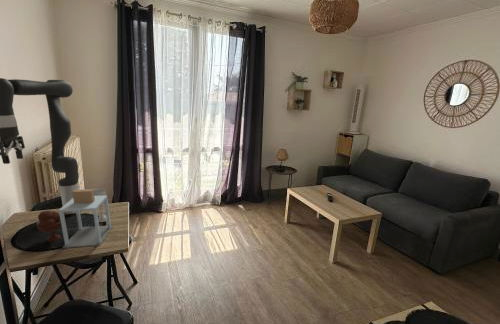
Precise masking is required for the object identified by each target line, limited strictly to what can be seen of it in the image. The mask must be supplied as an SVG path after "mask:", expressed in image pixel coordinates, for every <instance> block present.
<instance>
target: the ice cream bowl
mask: <svg viewBox="0 0 500 324" xmlns="http://www.w3.org/2000/svg"><path fill="white" fill-rule="evenodd" d="M37 219H38V221H37V222H35V225H36V228H37V229H38V230H39V231H40V232H42V233H43V232H44V233H48V234H49V233H50V236H48V237H47V238H46V242H49V243H53V242H56V241H58V240H60V239H61V238H62V237H61V235H59V234H56V232H57V231H59V230H60V228H61V229H62V225H61V220H60V214H59V211H51V210H43V211H41V212H40V213H39V214H38V215H37Z"/></svg>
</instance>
